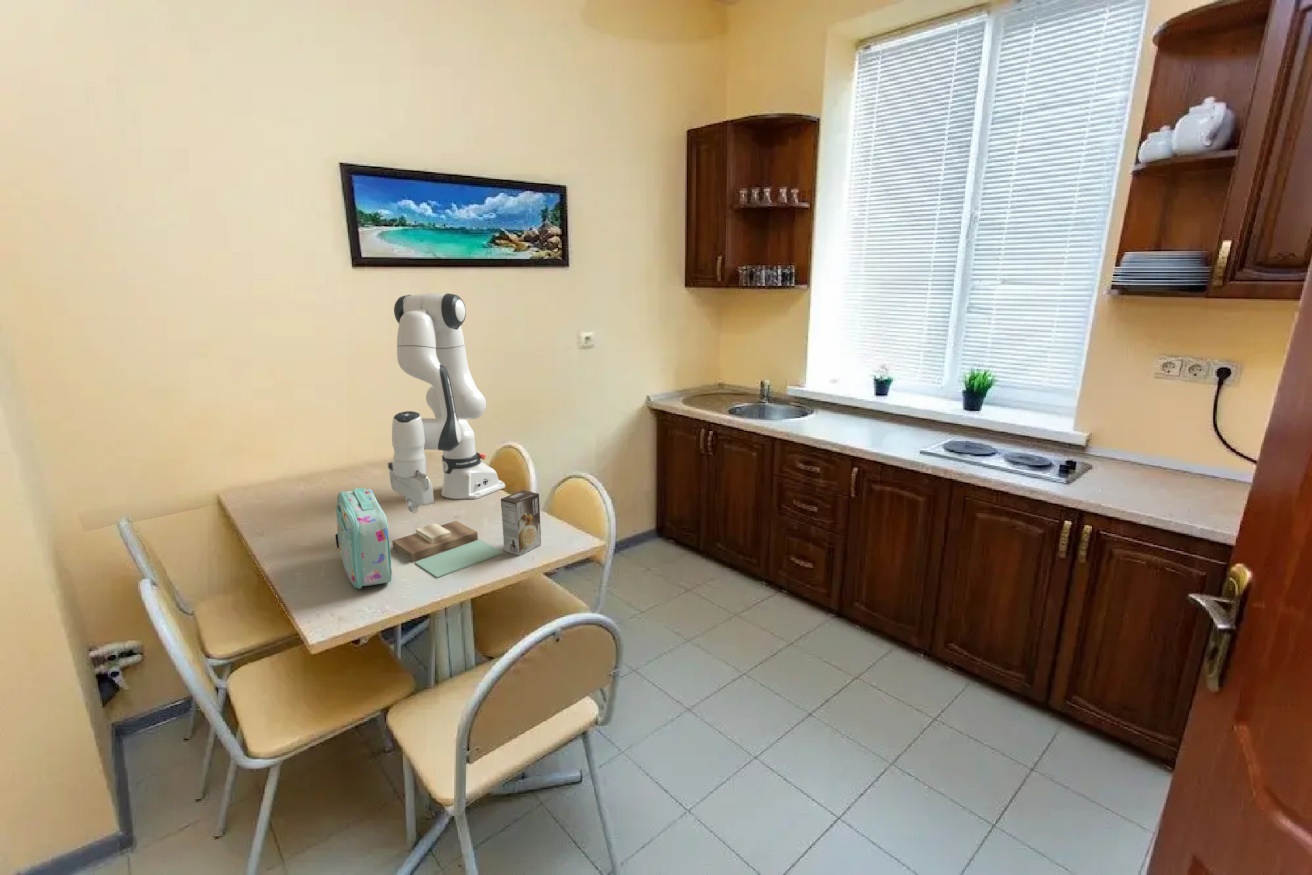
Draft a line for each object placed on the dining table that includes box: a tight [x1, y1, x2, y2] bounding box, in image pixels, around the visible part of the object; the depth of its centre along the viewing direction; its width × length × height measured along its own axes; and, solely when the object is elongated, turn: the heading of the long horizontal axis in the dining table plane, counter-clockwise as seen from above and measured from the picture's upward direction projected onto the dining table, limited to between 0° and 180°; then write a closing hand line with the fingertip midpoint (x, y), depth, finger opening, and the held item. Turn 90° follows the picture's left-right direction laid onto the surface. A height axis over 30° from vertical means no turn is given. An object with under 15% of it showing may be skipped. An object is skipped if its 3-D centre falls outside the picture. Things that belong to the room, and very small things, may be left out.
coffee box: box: [500, 489, 542, 557], centre depth 172 cm, size 9×6×16 cm
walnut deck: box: [391, 520, 479, 563], centre depth 175 cm, size 20×12×2 cm, turn 138°
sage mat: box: [414, 539, 504, 579], centre depth 167 cm, size 20×12×1 cm, turn 138°
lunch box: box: [334, 487, 393, 589], centre depth 157 cm, size 27×10×21 cm, turn 35°
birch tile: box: [415, 522, 451, 543], centre depth 176 cm, size 6×9×2 cm, turn 48°
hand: (413, 511), depth 180 cm, fingers closed
